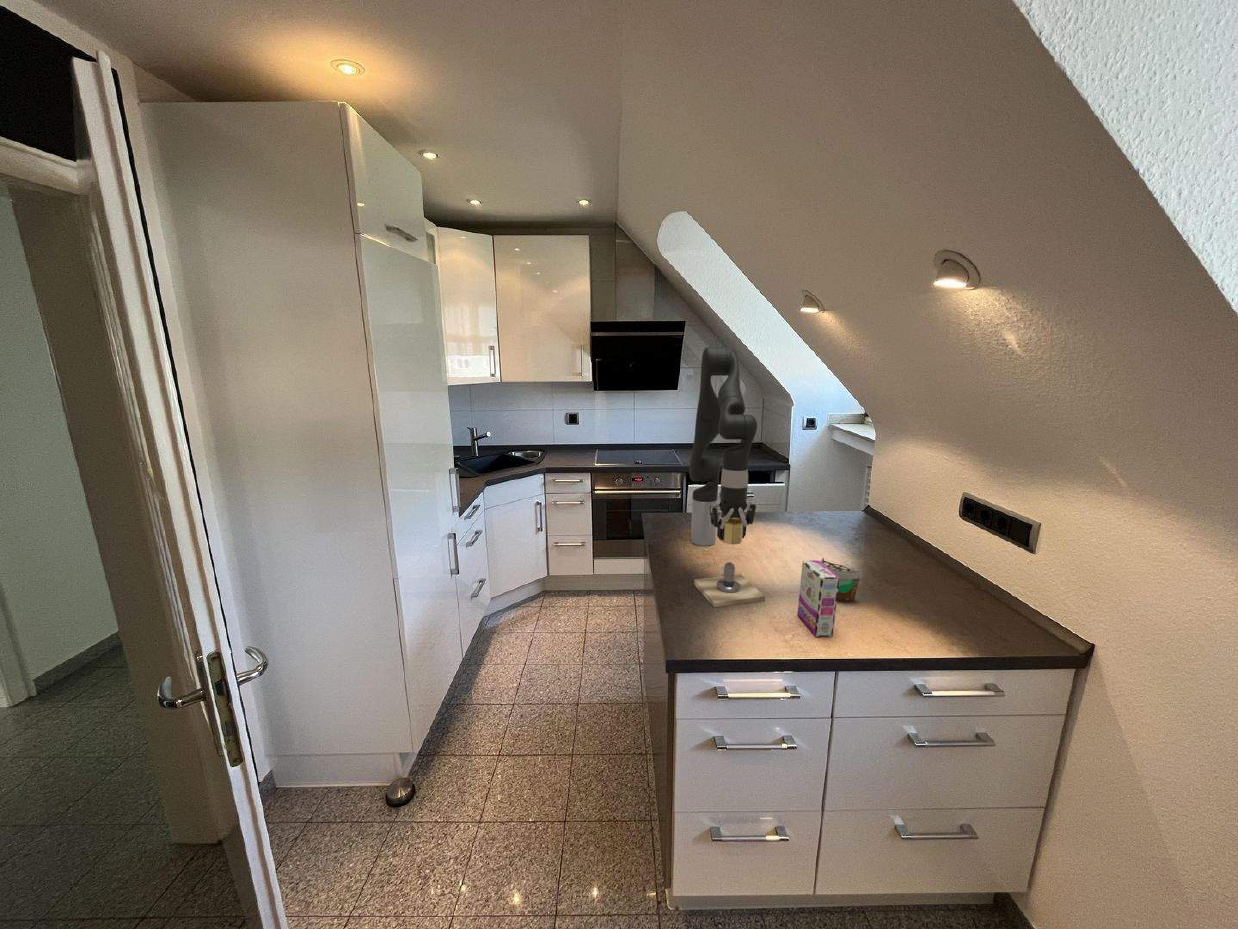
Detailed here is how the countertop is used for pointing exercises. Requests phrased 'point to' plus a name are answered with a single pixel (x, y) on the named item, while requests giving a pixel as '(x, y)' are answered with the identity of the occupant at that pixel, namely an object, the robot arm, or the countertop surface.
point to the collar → (733, 531)
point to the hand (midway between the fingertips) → (731, 538)
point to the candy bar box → (818, 598)
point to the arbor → (728, 580)
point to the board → (726, 599)
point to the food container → (845, 581)
